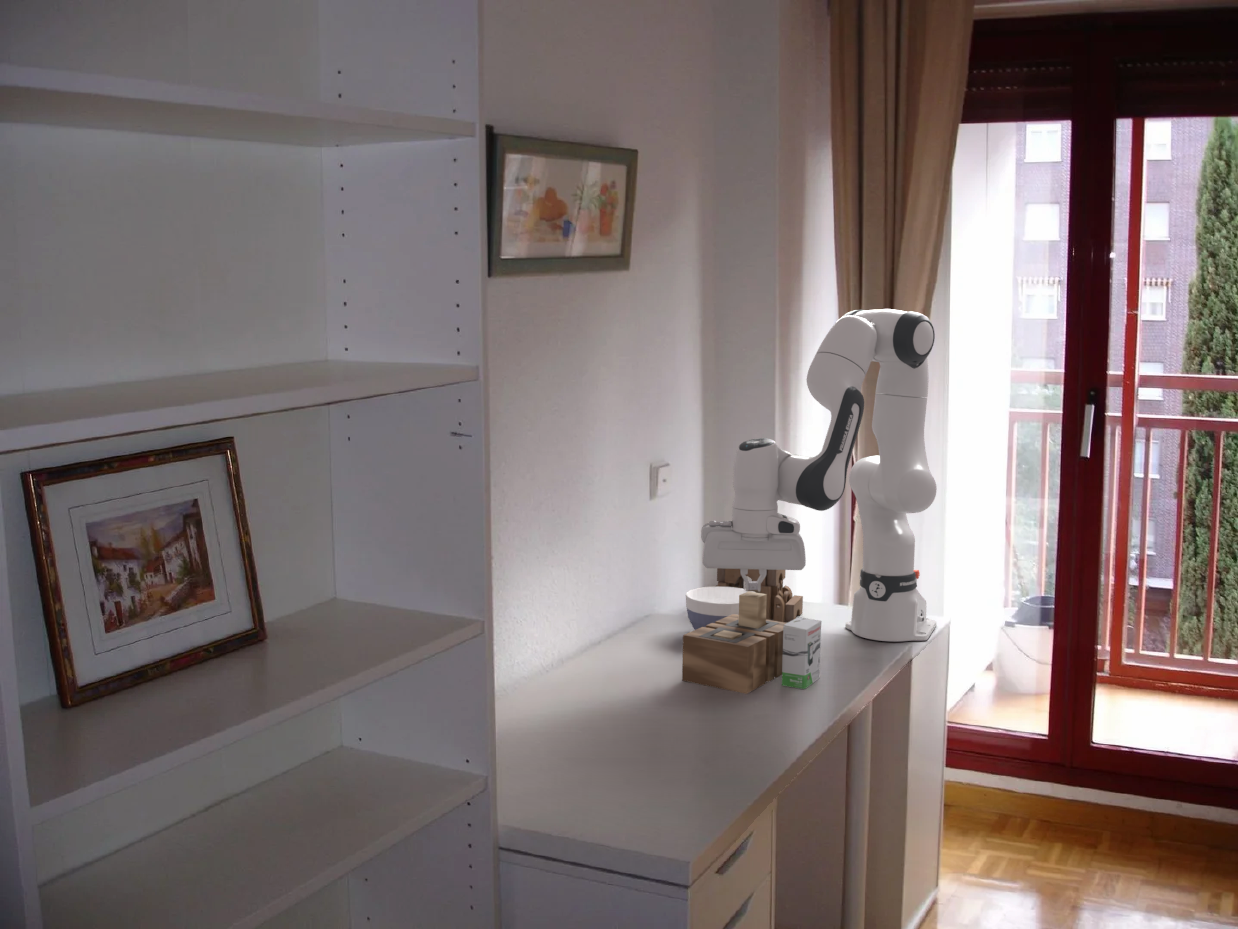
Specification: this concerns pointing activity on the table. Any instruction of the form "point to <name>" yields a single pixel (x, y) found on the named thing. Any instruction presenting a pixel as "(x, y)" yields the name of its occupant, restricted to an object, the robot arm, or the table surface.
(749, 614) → the peg
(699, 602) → the bowl
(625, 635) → the table surface
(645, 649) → the table surface
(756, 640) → the socket block
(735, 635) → the peg
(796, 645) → the ink box
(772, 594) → the wooden puzzle
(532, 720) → the table surface
